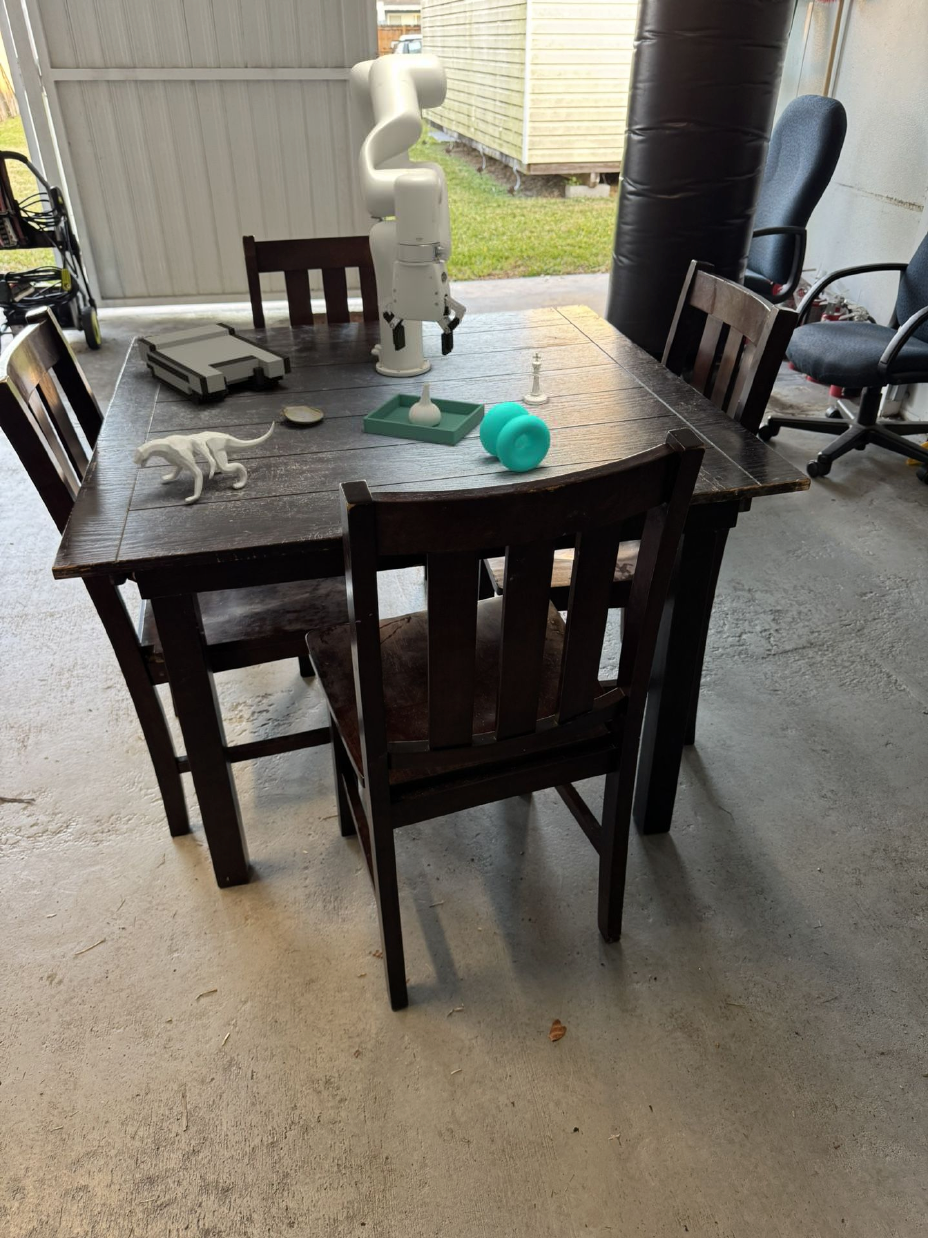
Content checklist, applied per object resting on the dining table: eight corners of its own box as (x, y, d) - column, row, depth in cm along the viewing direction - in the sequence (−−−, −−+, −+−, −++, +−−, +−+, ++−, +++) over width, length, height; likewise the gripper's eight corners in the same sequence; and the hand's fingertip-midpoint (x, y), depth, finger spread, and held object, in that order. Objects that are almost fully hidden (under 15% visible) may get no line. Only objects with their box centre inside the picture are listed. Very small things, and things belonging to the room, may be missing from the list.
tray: (363, 431, 163) (362, 418, 162) (399, 406, 175) (398, 393, 173) (454, 445, 157) (453, 431, 155) (484, 417, 169) (484, 404, 167)
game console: (205, 411, 174) (197, 372, 170) (145, 375, 195) (136, 339, 190) (293, 389, 185) (288, 351, 180) (227, 356, 206) (221, 322, 201)
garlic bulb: (408, 418, 168) (406, 378, 164) (439, 416, 169) (438, 377, 164) (410, 430, 163) (407, 389, 158) (442, 428, 163) (441, 387, 159)
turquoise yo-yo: (500, 479, 144) (501, 423, 139) (476, 458, 152) (476, 404, 146) (552, 468, 148) (554, 413, 142) (526, 448, 155) (527, 395, 150)
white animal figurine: (131, 490, 143) (116, 434, 138) (266, 454, 155) (257, 401, 150) (155, 516, 135) (141, 458, 129) (296, 475, 147) (288, 420, 142)
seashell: (313, 438, 166) (330, 415, 171) (312, 425, 164) (329, 402, 168) (275, 427, 167) (293, 405, 172) (273, 414, 165) (291, 392, 170)
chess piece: (545, 405, 174) (547, 356, 168) (522, 403, 175) (523, 355, 169) (548, 397, 178) (550, 349, 172) (525, 395, 179) (526, 348, 173)
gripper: (472, 251, 148) (473, 350, 158) (385, 247, 154) (391, 342, 163) (455, 259, 142) (457, 360, 152) (365, 254, 148) (373, 352, 158)
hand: (423, 351), depth 158 cm, fingers open, 9 cm apart
